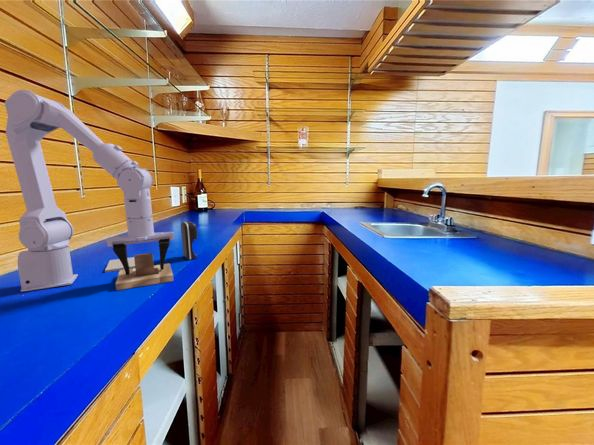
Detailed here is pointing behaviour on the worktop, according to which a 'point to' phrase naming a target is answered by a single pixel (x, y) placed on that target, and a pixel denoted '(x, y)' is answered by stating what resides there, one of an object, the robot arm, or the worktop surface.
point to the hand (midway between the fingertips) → (145, 271)
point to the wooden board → (144, 277)
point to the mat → (119, 265)
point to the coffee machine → (188, 238)
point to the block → (144, 264)
